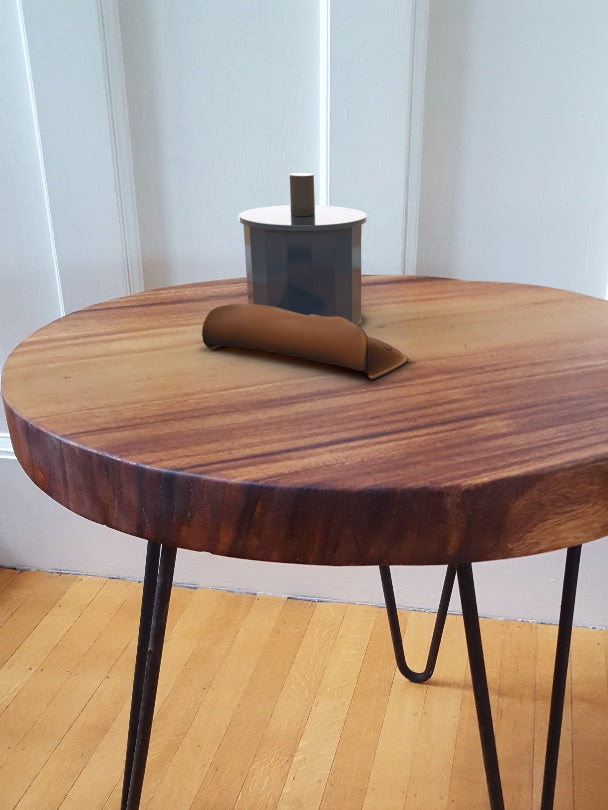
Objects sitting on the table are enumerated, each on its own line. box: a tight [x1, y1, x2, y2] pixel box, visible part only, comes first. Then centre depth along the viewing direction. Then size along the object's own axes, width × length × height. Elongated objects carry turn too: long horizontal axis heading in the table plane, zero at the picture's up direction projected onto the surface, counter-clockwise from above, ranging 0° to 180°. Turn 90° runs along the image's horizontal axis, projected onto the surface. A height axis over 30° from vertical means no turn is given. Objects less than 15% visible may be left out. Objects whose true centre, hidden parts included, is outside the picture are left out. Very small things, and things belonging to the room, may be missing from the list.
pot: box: [242, 224, 363, 326], centre depth 95 cm, size 11×11×10 cm
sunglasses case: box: [201, 303, 409, 381], centre depth 86 cm, size 18×7×7 cm, turn 59°
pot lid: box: [238, 172, 368, 231], centre depth 92 cm, size 12×12×5 cm
